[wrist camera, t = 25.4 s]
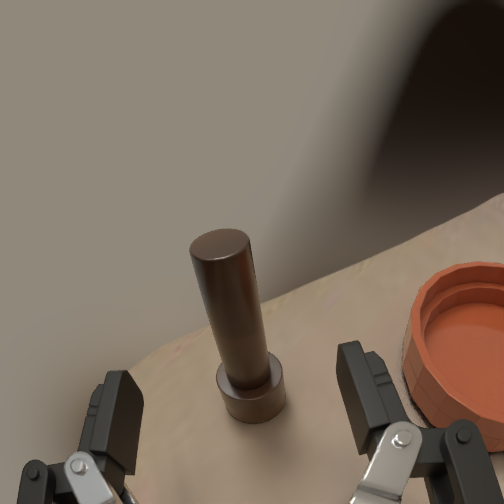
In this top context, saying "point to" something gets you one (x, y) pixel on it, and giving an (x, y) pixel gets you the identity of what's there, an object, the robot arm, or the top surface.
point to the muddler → (237, 326)
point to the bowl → (459, 349)
